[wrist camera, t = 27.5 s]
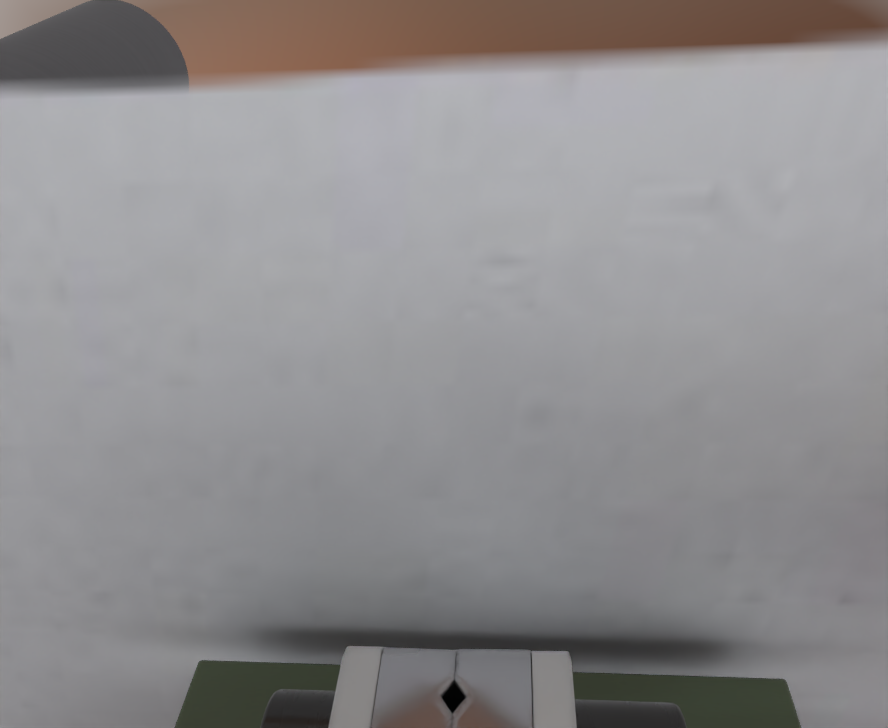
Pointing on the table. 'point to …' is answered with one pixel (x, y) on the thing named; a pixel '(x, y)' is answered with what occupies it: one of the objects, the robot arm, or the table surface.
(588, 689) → the drawer
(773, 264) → the table surface
